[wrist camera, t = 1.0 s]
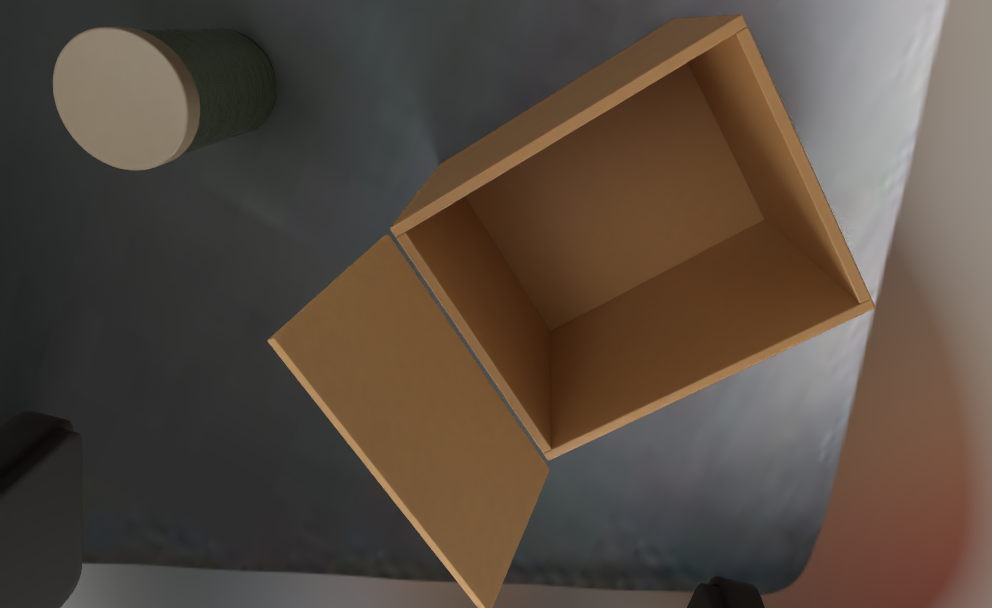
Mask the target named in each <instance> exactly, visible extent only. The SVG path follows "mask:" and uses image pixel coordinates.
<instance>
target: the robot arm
mask: <svg viewBox="0 0 992 608" xmlns="http://www.w3.org/2000/svg"><path fill="white" fill-rule="evenodd" d="M81 569H82V440H81V436H80V434H78V433H76V432H73V426H72V424H71V422H70V421H68V420H66V419H62V418H58V417H54V416H49V415H45V414H41V413H37V412H33V411H23V412H22V413H20V414H18V415H16V416H15V417H14V418H12V419H11V420H10V421H8V422H7V423H6V424H4V425H3V426H2V427H0V608H60V607H61V606H62V605H63V604H64V603H65V601H66V600H67V599H68V598H69V596H70V595H71V594H72V592H73V591H74V589H75V587H76V585H77V583H78V581H79V578H80V574H81ZM687 608H765V607H764V604H763V602H762V599H761V596H760V594H759V592H758V590H757V588H756V587H755V586H753V585H751V584H747V583H743V582H739V581H734V580H730V579H726V578H722V577H714V578H712V579H711V580H710V582H709V584H704V583H701V584H699V585H698V586H697V588H696V590H695V592H694V594H693V596H692V598H691V600H690V602H689V605H688V606H687Z"/></svg>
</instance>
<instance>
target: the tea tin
mask: <svg viewBox="0 0 992 608" xmlns="http://www.w3.org/2000/svg"><path fill="white" fill-rule="evenodd" d="M53 93H54V98H55V103H56V106H57V109H58V112H59V115H60V117H61V119H62V121H63V123H64V125H65V127H66V128H67V130H68V131H69V133H70V134H71V135H72V137H73V138H74V139H75V140H76V141H77V143H78V144H79V145H80V146H81V147H82V148H84V149H85V150H86V151H87V152H88V153H90V154H91V155H92V156H94V157H95V158H97V159H99V160H100V161H102V162H104V163H106V164H109V165H111V166H114V167H117V168H121V169H126V170H146V169H150V168H154V167H157V166H159V165H162V164H165V163H167V162H170V161H172V160H174V159H176V158H177V157H179V156H180V155H182V154H185V153H188V152H191V151H194V150H196V149H199V148H202V147H205V146H208V145H211V144H213V143H216V142H219V141H222V140H225V139H228V138H230V137H233V136H236V135H239V134H242V133H245V132H247V131H250V130H252V129H254V128H256V127H258V126H259V125H260V124H262V123H263V122H264V121H265V119H266V118H267V117H268V115H269V114H270V112H271V110H272V108H273V105H274V102H275V96H276V82H275V77H274V73H273V70H272V67H271V65H270V63H269V61H268V59H267V57H266V56H265V54H264V53H263V52H262V50H261V49H260V48H259V47H258V46H257V45H256V44H255V43H254V42H252V41H251V40H250V39H249V38H247V37H245V36H244V35H242V34H240V33H237V32H234V31H231V30H226V29H164V30H138V29H134V28H128V27H100V28H94V29H90V30H87V31H84V32H82V33H80V34H79V35H77V36H76V37H74V38H73V39H72V40H71V41H70V42H69V43H68V44H67V45H66V46H65V47H64V49H63V50H62V51H61V53H60V55H59V57H58V59H57V62H56V65H55V69H54V74H53Z"/></svg>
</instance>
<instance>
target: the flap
mask: <svg viewBox="0 0 992 608" xmlns="http://www.w3.org/2000/svg"><path fill="white" fill-rule="evenodd" d="M268 342H269V344H270V345H271V346H272V347H273V349H274V350H275V351H276V353H277V354H278V355H279V356H280V358H281V359H282V360H283V361H284V363H285V364H286V365H287V366H288V368H289V369H290V370H291V372H292V373H293V374H294V375H295V377H296V378H297V379H298V380H299V382H300V383H301V384H302V385H303V387H304V388H305V389H306V391H307V392H308V393H309V394H310V396H311V397H312V398H313V399H314V401H315V402H316V403H317V404H318V406H319V407H320V408H321V410H322V411H323V412H324V413H325V415H326V416H327V417H328V418H329V420H330V421H331V422H332V423H333V425H334V426H335V427H336V429H337V430H338V431H339V432H340V434H341V435H342V436H343V437H344V439H345V440H346V441H347V442H348V444H349V445H350V446H351V448H352V449H353V450H354V451H355V453H356V454H357V455H358V456H359V458H360V459H361V460H362V461H363V463H364V464H365V465H366V467H367V468H368V469H369V470H370V472H371V473H372V474H373V475H374V477H375V478H376V479H377V480H378V482H379V483H380V484H381V485H382V487H383V488H384V489H385V491H386V492H387V493H388V494H389V496H390V497H391V498H392V499H393V501H394V502H395V503H396V504H397V506H398V507H399V508H400V510H401V511H402V512H403V513H404V515H405V516H406V517H407V518H408V520H409V521H410V522H411V523H412V525H413V526H414V527H415V529H416V530H417V531H418V532H419V534H420V535H421V536H422V537H423V539H424V540H425V541H426V542H427V544H428V545H429V546H430V548H431V549H432V550H433V551H434V553H435V554H436V555H437V556H438V558H439V559H440V560H441V561H442V563H443V564H444V565H445V567H446V568H447V569H448V570H449V572H450V573H451V574H452V575H453V577H454V578H455V579H456V580H457V582H458V583H459V584H460V586H461V587H462V588H463V589H464V591H465V592H466V593H467V594H468V596H469V597H470V598H471V599H472V601H473V602H474V603H475V605H476V606H477V607H478V608H492V607H493V604H494V602H495V599H496V597H497V595H498V592H499V590H500V588H501V585H502V583H503V580H504V578H505V576H506V573H507V571H508V568H509V566H510V564H511V561H512V559H513V556H514V554H515V552H516V549H517V547H518V545H519V542H520V540H521V537H522V535H523V533H524V530H525V528H526V525H527V523H528V521H529V518H530V516H531V513H532V511H533V509H534V506H535V504H536V501H537V499H538V497H539V494H540V492H541V489H542V487H543V485H544V482H545V480H546V477H547V475H548V473H549V468H548V466H547V465H546V464H545V462H544V461H543V459H542V458H541V456H540V455H539V453H538V452H537V450H536V449H535V448H534V446H533V445H532V443H531V442H530V440H529V439H528V437H527V436H526V434H525V433H524V431H523V430H522V429H521V427H520V426H519V424H518V423H517V421H516V420H515V418H514V417H513V415H512V414H511V412H510V411H509V410H508V408H507V407H506V405H505V404H504V402H503V401H502V399H501V398H500V396H499V395H498V394H497V392H496V391H495V389H494V388H493V386H492V385H491V383H490V382H489V380H488V379H487V377H486V376H485V375H484V373H483V372H482V370H481V369H480V367H479V366H478V364H477V363H476V361H475V360H474V358H473V357H472V356H471V354H470V353H469V351H468V350H467V348H466V347H465V345H464V344H463V342H462V341H461V340H460V338H459V337H458V335H457V334H456V332H455V331H454V329H453V328H452V326H451V325H450V323H449V322H448V321H447V319H446V318H445V316H444V315H443V313H442V312H441V310H440V309H439V307H438V306H437V305H436V303H435V302H434V300H433V299H432V297H431V296H430V294H429V293H428V291H427V290H426V288H425V287H424V286H423V284H422V283H421V281H420V280H419V278H418V277H417V275H416V274H415V272H414V271H413V269H412V268H411V267H410V265H409V264H408V262H407V261H406V259H405V258H404V256H403V255H402V253H401V252H400V251H399V249H398V248H397V246H396V245H395V243H394V242H393V240H392V239H391V237H390V236H389V235H388V234H387V235H385V236H383V237H382V238H381V239H380V240H378V241H377V242H376V243H375V244H374V245H373V246H372V247H371V248H370V249H368V250H367V251H366V252H365V253H364V254H363V255H362V256H361V257H360V258H358V259H357V260H356V261H355V262H354V263H353V264H352V265H351V266H349V267H348V268H347V269H346V270H345V271H344V272H343V273H342V274H341V275H339V276H338V277H337V278H336V279H335V280H334V281H333V282H332V283H331V284H329V285H328V286H327V287H326V288H325V289H324V290H323V291H322V292H321V293H319V294H318V295H317V296H316V297H315V298H314V299H313V300H312V301H311V302H309V303H308V304H307V305H306V306H305V307H304V308H303V309H302V310H301V311H299V312H298V313H297V314H296V315H295V316H294V317H293V318H292V319H291V320H289V321H288V322H287V323H286V324H285V325H284V326H283V327H282V328H280V329H279V330H278V331H277V332H276V333H275V334H274V335H273V336H272V337H270V338H269V339H268Z"/></svg>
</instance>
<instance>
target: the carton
mask: <svg viewBox="0 0 992 608" xmlns="http://www.w3.org/2000/svg"><path fill="white" fill-rule="evenodd" d="M390 230H391V231H392V233H393V234H394V235H395V237H397V240H398V241H399V243H400V244H401V246H402V247H403V249H404V250H405V252H406V253H407V255H408V256H409V257H410V259H411V260H412V262H413V263H414V265H415V266H416V268H417V269H418V271H419V272H420V274H421V275H422V276H423V278H424V279H425V281H426V282H427V284H428V285H429V287H430V288H431V290H432V291H433V293H434V294H435V296H436V297H437V298H438V300H439V301H440V303H441V304H442V306H443V307H444V309H445V310H446V312H447V313H448V315H449V316H450V318H451V319H452V320H453V322H454V323H455V325H456V326H457V328H458V329H459V331H460V332H461V334H462V335H463V337H464V338H465V339H466V341H467V342H468V344H469V345H470V347H471V348H472V350H473V351H474V353H475V354H476V356H477V357H478V359H479V360H480V361H481V363H482V364H483V366H484V367H485V369H486V370H487V372H488V373H489V375H490V376H491V378H492V379H493V381H494V382H495V383H496V385H497V386H498V388H499V389H500V391H501V392H502V394H503V395H504V397H505V398H506V400H507V401H508V402H509V404H510V405H511V407H512V408H513V410H514V411H515V413H516V414H517V416H518V417H519V419H520V420H521V422H522V423H523V424H524V426H525V427H526V429H527V430H528V432H529V433H530V435H531V436H532V438H533V439H534V441H535V442H536V444H537V445H538V446H539V448H540V449H541V451H542V452H543V453H544V455H545V457H546V458H547V460H551V459H553V458H555V457H557V456H559V455H562V454H564V453H566V452H568V451H570V450H572V449H574V448H577V447H579V446H581V445H583V444H585V443H587V442H589V441H592V440H594V439H596V438H598V437H600V436H602V435H604V434H607V433H609V432H611V431H613V430H615V429H617V428H619V427H622V426H624V425H626V424H628V423H630V422H632V421H634V420H636V419H639V418H641V417H643V416H645V415H647V414H649V413H651V412H654V411H656V410H658V409H660V408H662V407H664V406H666V405H669V404H671V403H673V402H675V401H677V400H679V399H681V398H684V397H686V396H688V395H690V394H692V393H694V392H696V391H699V390H701V389H703V388H705V387H707V386H709V385H711V384H714V383H716V382H718V381H720V380H722V379H724V378H726V377H729V376H731V375H733V374H735V373H737V372H739V371H741V370H744V369H746V368H748V367H750V366H752V365H754V364H756V363H758V362H761V361H763V360H765V359H767V358H769V357H771V356H773V355H776V354H778V353H780V352H782V351H784V350H786V349H788V348H791V347H793V346H795V345H797V344H799V343H801V342H803V341H806V340H808V339H810V338H812V337H814V336H816V335H818V334H821V333H823V332H825V331H827V330H829V329H831V328H833V327H836V326H838V325H840V324H842V323H844V322H846V321H848V320H851V319H853V318H855V317H857V316H859V315H861V314H863V313H866V312H868V311H870V310H872V309H874V308H875V305H874V303H873V301H872V299H871V297H870V294H869V292H868V290H867V288H866V286H865V283H864V281H863V279H862V277H861V275H860V272H859V270H858V268H857V266H856V264H855V261H854V259H853V257H852V255H851V253H850V250H849V248H848V246H847V244H846V242H845V239H844V237H843V235H842V233H841V231H840V228H839V226H838V224H837V222H836V220H835V217H834V215H833V213H832V211H831V209H830V206H829V204H828V202H827V200H826V197H825V195H824V193H823V191H822V189H821V186H820V184H819V182H818V180H817V178H816V175H815V173H814V171H813V169H812V167H811V164H810V162H809V160H808V158H807V156H806V153H805V151H804V149H803V147H802V145H801V142H800V140H799V138H798V136H797V134H796V131H795V129H794V127H793V125H792V123H791V120H790V118H789V116H788V114H787V112H786V109H785V107H784V105H783V103H782V101H781V98H780V96H779V94H778V92H777V90H776V87H775V85H774V83H773V81H772V79H771V76H770V74H769V72H768V70H767V68H766V65H765V63H764V61H763V59H762V57H761V54H760V52H759V50H758V48H757V45H756V43H755V41H754V39H753V37H752V34H751V32H750V30H749V28H748V27H747V23H746V21H745V19H744V17H743V15H742V14H739V15H722V16H705V17H688V18H674V19H672V20H671V21H669V22H668V23H666V24H664V25H663V26H661V27H660V28H658V29H656V30H655V31H653V32H651V33H650V34H648V35H647V36H645V37H643V38H642V39H640V40H639V41H637V42H635V43H634V44H632V45H631V46H629V47H627V48H626V49H624V50H623V51H621V52H619V53H618V54H616V55H615V56H613V57H611V58H610V59H608V60H607V61H605V62H603V63H602V64H600V65H599V66H597V67H595V68H594V69H592V70H590V71H589V72H587V73H586V74H584V75H582V76H581V77H579V78H578V79H576V80H574V81H573V82H571V83H570V84H568V85H566V86H565V87H563V88H562V89H560V90H558V91H557V92H555V93H554V94H552V95H550V96H549V97H547V98H546V99H544V100H542V101H541V102H539V103H537V104H536V105H534V106H533V107H531V108H529V109H528V110H526V111H525V112H523V113H521V114H520V115H518V116H517V117H515V118H513V119H512V120H510V121H509V122H507V123H505V124H504V125H502V126H501V127H499V128H497V129H496V130H494V131H493V132H491V133H489V134H488V135H486V136H485V137H483V138H481V139H480V140H478V141H476V142H475V143H473V144H472V145H470V146H468V147H467V148H465V149H464V150H462V151H460V152H459V153H457V154H456V155H454V156H452V157H451V158H449V159H448V160H446V161H444V162H443V163H441V164H440V165H439V166H438V167H437V168H436V169H435V171H434V172H433V173H432V175H431V176H430V177H429V178H428V180H427V181H426V182H425V184H424V185H423V186H422V187H421V189H420V190H419V191H418V193H417V194H416V195H415V196H414V198H413V199H412V200H411V202H410V203H409V204H408V205H407V207H406V208H405V209H404V211H403V212H402V213H401V214H400V216H399V217H398V218H397V220H396V221H395V222H394V224H393V225H392V226H391V227H390Z"/></svg>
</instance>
